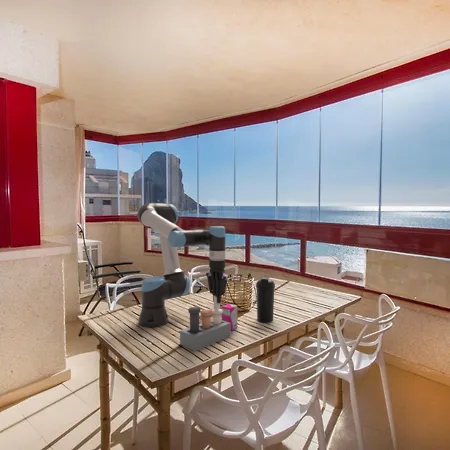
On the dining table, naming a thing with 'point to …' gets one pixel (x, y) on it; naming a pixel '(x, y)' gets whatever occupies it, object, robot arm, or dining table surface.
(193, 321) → the black plug
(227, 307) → the supplement box
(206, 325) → the terracotta plug
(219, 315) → the cream plug
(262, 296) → the water bottle
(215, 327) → the socket block
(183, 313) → the dining table surface
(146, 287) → the robot arm
